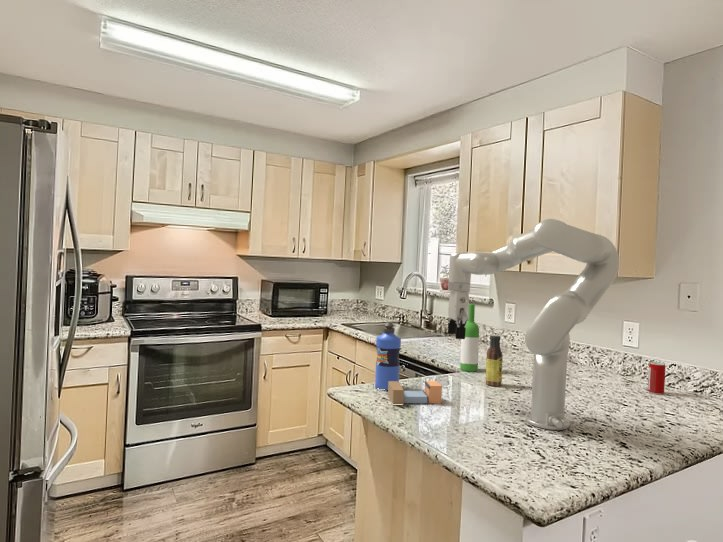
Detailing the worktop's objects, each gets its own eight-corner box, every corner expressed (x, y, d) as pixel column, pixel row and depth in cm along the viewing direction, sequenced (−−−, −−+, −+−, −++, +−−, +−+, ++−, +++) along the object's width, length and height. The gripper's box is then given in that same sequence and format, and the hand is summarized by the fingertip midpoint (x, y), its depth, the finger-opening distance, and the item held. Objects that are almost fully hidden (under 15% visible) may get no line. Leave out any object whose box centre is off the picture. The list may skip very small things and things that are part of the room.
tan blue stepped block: (429, 405, 154) (430, 390, 154) (392, 405, 152) (393, 390, 152) (422, 395, 165) (422, 381, 165) (387, 395, 163) (388, 381, 163)
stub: (441, 403, 157) (441, 385, 156) (428, 403, 156) (429, 385, 156) (436, 397, 163) (437, 380, 163) (424, 397, 162) (424, 380, 162)
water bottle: (386, 382, 181) (388, 319, 180) (404, 388, 174) (406, 322, 173) (369, 386, 174) (371, 321, 173) (387, 392, 167) (390, 324, 167)
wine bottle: (474, 373, 202) (477, 305, 201) (457, 370, 206) (460, 304, 205) (479, 369, 208) (482, 304, 208) (463, 367, 212) (465, 302, 212)
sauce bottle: (502, 387, 179) (504, 337, 179) (485, 386, 181) (487, 336, 180) (500, 383, 186) (502, 334, 185) (484, 382, 187) (486, 333, 187)
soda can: (667, 395, 176) (668, 364, 176) (652, 394, 177) (654, 363, 176) (658, 391, 182) (660, 361, 182) (644, 390, 182) (646, 360, 182)
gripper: (477, 290, 151) (474, 341, 152) (462, 286, 168) (459, 332, 169) (455, 289, 150) (452, 340, 151) (442, 285, 168) (439, 331, 168)
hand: (456, 336), depth 160 cm, fingers open, 9 cm apart
